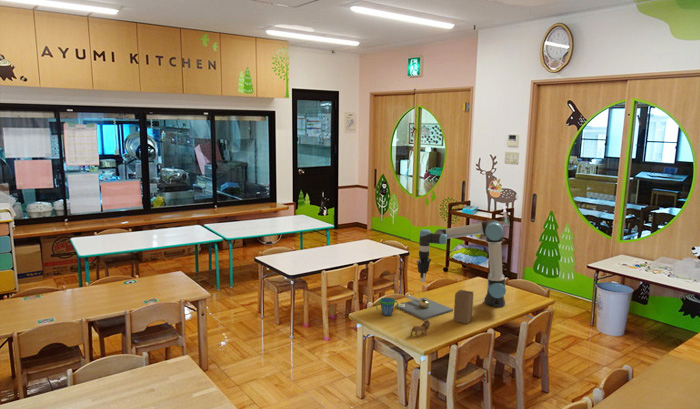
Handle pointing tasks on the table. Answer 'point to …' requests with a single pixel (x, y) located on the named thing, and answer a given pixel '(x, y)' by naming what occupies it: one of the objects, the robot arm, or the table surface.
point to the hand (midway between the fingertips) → (422, 281)
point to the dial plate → (424, 309)
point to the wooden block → (463, 306)
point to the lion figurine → (421, 328)
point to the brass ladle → (419, 301)
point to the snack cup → (387, 305)
